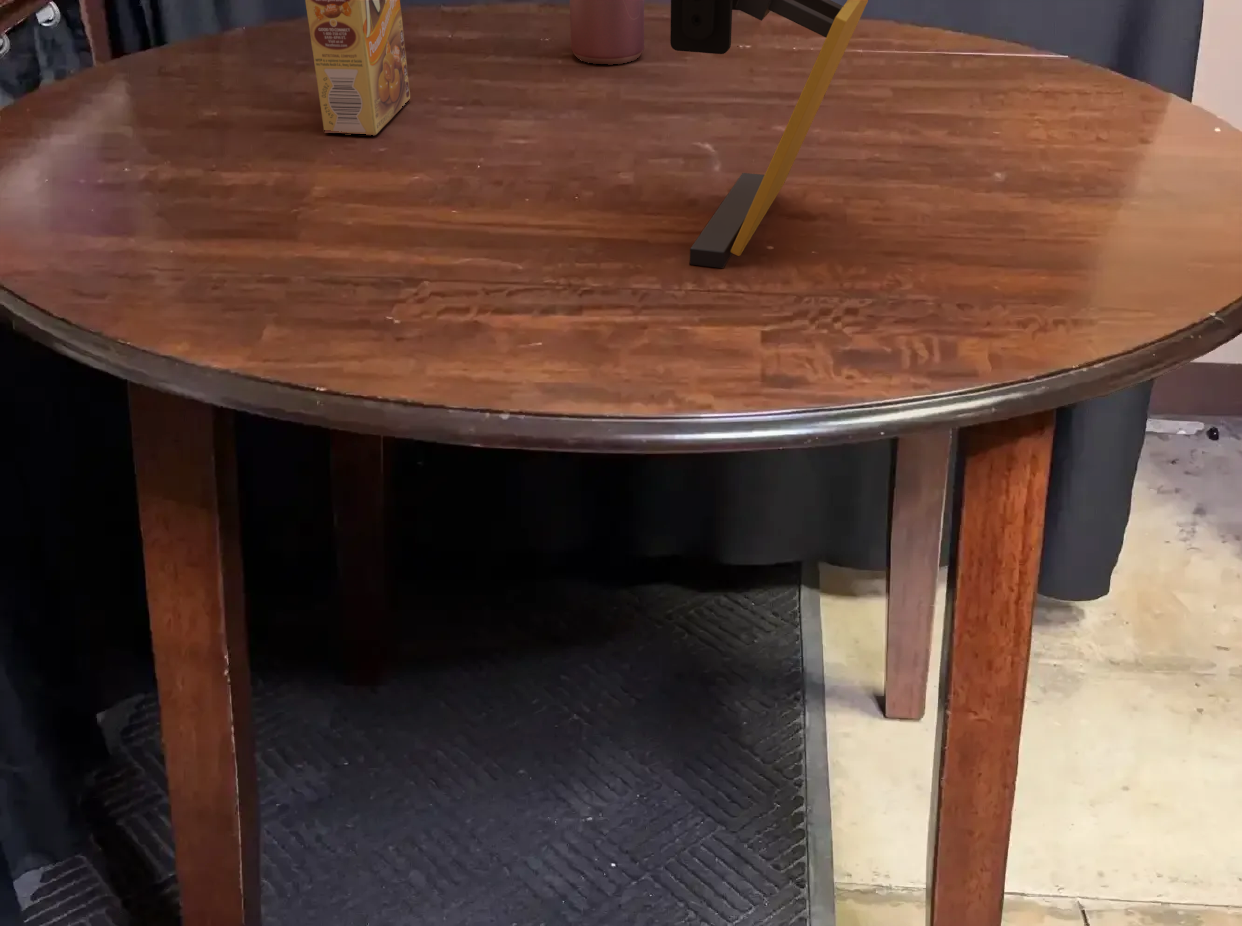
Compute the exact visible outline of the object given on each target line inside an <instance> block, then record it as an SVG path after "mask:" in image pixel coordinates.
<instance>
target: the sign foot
mask: <svg viewBox="0 0 1242 926" xmlns="http://www.w3.org/2000/svg"><path fill="white" fill-rule="evenodd" d="M764 175H765V174H759V173H749V172H742V173H741V174H740V176H739V177H738V179H737V180H736V182H734V185H733V186H732V188H731V189H730V190H729V192H728V193H727V195H726V196H725V197H724V199H723V200H722V202H721V203H720V205H719V206H718V208H717V209H716V211H715V212H714V214H713V215H712V216H711V218H710V219H709V221H708V222H707V224H706V225H705V227H704V228H703V229H702V231H701V232H700V234H699V235H698V237H697V238H696V239H695V241H694V243H693V244H692V245H691V247H690V248H689V264H690V265H691V266H700V267H706V268H707V267H709V268H716V269H717V268H718V269H724V268H725V266H726V264H727V263H728V261H729V260H730V258H731V256H732V255H733V253H731V249H732V247H733V244H734V242H735V240H736V238H737V236H738V233H739V231H740V229H741V227H742V224H743V222H744V220H745V218H746V215H747V213H748V211H749V209H750V207H751V204H752V202H753V200H754V198H755V195H756V193H757V191H758V189H759V186H760V184H761V182H762V180H763V178H764Z"/></svg>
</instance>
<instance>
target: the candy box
mask: <svg viewBox="0 0 1242 926" xmlns="http://www.w3.org/2000/svg"><path fill="white" fill-rule="evenodd" d="M304 1H305V8H306V16H307V23H308V29H309V35H310V45H311V50H312V55H313V56H312V57H313V62H314V70H315V77H316V85H317V90H318V91H317V92H318V98H319V105H320V112H321V119H322V126H323V131H324V130H331V131H339V132H341V131H342V132H347V133H360V134H366V135H365V136H371V135H373V137H375V136H376V135H377V134H378V133H380V131H381V130H382V129H383V128H384V127H385V126H386V125H387V124H388V123H389V122H390V121H391V120H392V119H393V118H394V117H395V116H396V114H398V112H399V111H400V110H401V109H402V108H403V107H404V106H406V104H405V103H406V102H407V101H408V100H409V99H410V100H411V92H410V91H411V90H410V82H409V72H408V64H407V53H406V45H405V43H406V42H405V34H404V26H403V25H404V23H403V15H402V8H401V7H402V6H401V0H304ZM402 106H403V107H402Z"/></svg>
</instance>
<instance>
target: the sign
mask: <svg viewBox="0 0 1242 926" xmlns="http://www.w3.org/2000/svg"><path fill="white" fill-rule="evenodd" d="M868 2H869V0H846V2H845V3H844V4H843V5H842V4H840V3H837V2H836V1H834V0H738V2H737V5H736V9H738V10H737V11H741V12H743V13H745V14H747V15H749V16H751V17H753V18H755V19H757V20H759V21H763V20H764V19H765V18H766V17H767V15H768V14H769V13H770V12H773V13H774V14H777V15H779V16H781V17H783V18H784V19H787V20H789V21H791V22H793V23H795V24H797V25H799V26H801V27H803V28H805V29H807V30H809V31H811V32H813V33H816V34H817V35H820V36H821V37H824V38H825V39H824V42H823V44H822V46H821V48H820V51H819V53H818V55H817V57H816V60H815V62H814V64H813V66H812V68H811V71H810V73H809V75H808V77H807V80H806V82H805V84H804V86H803V88H802V91H801V93H800V95H799V97H798V99H797V102H796V104H795V107H794V108H793V111H792V113H791V115H790V118H789V120H788V122H787V124H786V126H785V129H784V131H783V133H782V135H781V138H780V140H779V142H778V144H777V147H776V149H775V151H774V153H773V156H772V158H771V160H770V161H769V164H768V166H767V168H766V171H765V173H764V174H763V175H764V178H763V180H762V182H761V184H760V186H759V189H758V191H757V193H756V195H755V198H754V200H753V202H752V204H751V207H750V209H749V211H748V213H747V215H746V218H745V220H744V222H743V224H742V227H741V229H740V231H739V233H738V236H737V238H736V240H735V242H734V244H733V247H732V249H731V253H732V255H734V256H737V257H741V256H742V253H743V251H744V250H745V248H746V247H747V245H748V244H749V242H750V240H751V239H752V237H753V235H754V234H755V232H756V230H757V229H758V227H759V225H760V224H761V222H762V221H763V219H764V217H765V216H766V214H767V212H768V211H769V210H770V208H771V206H772V205H773V203H774V201H775V199H776V198H777V196H778V195H779V193H780V191H781V189H782V188H783V187H784V184H785V182H786V180H787V178H788V176H789V174H790V171H791V169H792V167H793V165H794V163H795V160H796V158H797V157H798V155H799V152H800V150H801V148H802V146H803V143H804V141H805V139H806V137H807V134H808V132H809V130H810V128H811V126H812V124H813V121H814V119H815V118H816V115H817V112H818V111H819V109H820V106H821V104H822V102H823V100H824V99H825V95H826V93H827V91H828V89H829V87H830V85H831V82H832V80H833V78H834V76H835V73H836V71H837V69H838V67H839V65H840V63H841V61H842V58H843V57H844V54H845V52H846V49H847V48H848V45H849V43H850V41H851V39H852V36H853V35H854V32H855V30H856V28H857V26H858V23H859V22H860V20H861V17H862V15H863V13H864V11H865V8H866V6H867V4H868Z"/></svg>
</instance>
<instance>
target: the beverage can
mask: <svg viewBox="0 0 1242 926" xmlns="http://www.w3.org/2000/svg"><path fill="white" fill-rule="evenodd" d="M569 24H570V27H569V28H570V50H571V52H572V53H573V55H574V56H576V57H577V58H578V59H581V60H582V61H585V62H589V63H593V64H592V65H596V64H608V65H607V66H614V65H613V64H618V65H623V63H625V64H628V63H627V62H629V63H632V62H634V61H636V60H638V59H639V58H640V56H641V55H642V53H643V51H644V48H645V0H569ZM576 57H575V58H576ZM577 58H576V59H577ZM637 58H638V59H637ZM578 59H577V60H578ZM582 61H581V62H582ZM631 61H632V62H631ZM585 62H584V63H585ZM589 63H588V64H589Z"/></svg>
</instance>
